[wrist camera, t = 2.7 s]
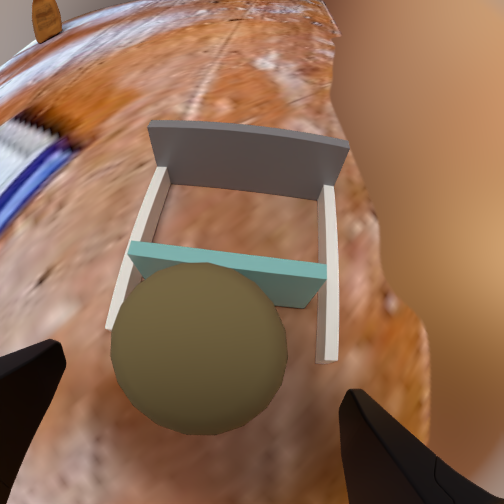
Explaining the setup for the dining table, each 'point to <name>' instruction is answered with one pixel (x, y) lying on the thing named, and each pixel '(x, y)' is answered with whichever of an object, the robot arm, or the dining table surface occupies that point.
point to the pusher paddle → (239, 269)
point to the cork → (199, 348)
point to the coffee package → (45, 19)
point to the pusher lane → (247, 179)
